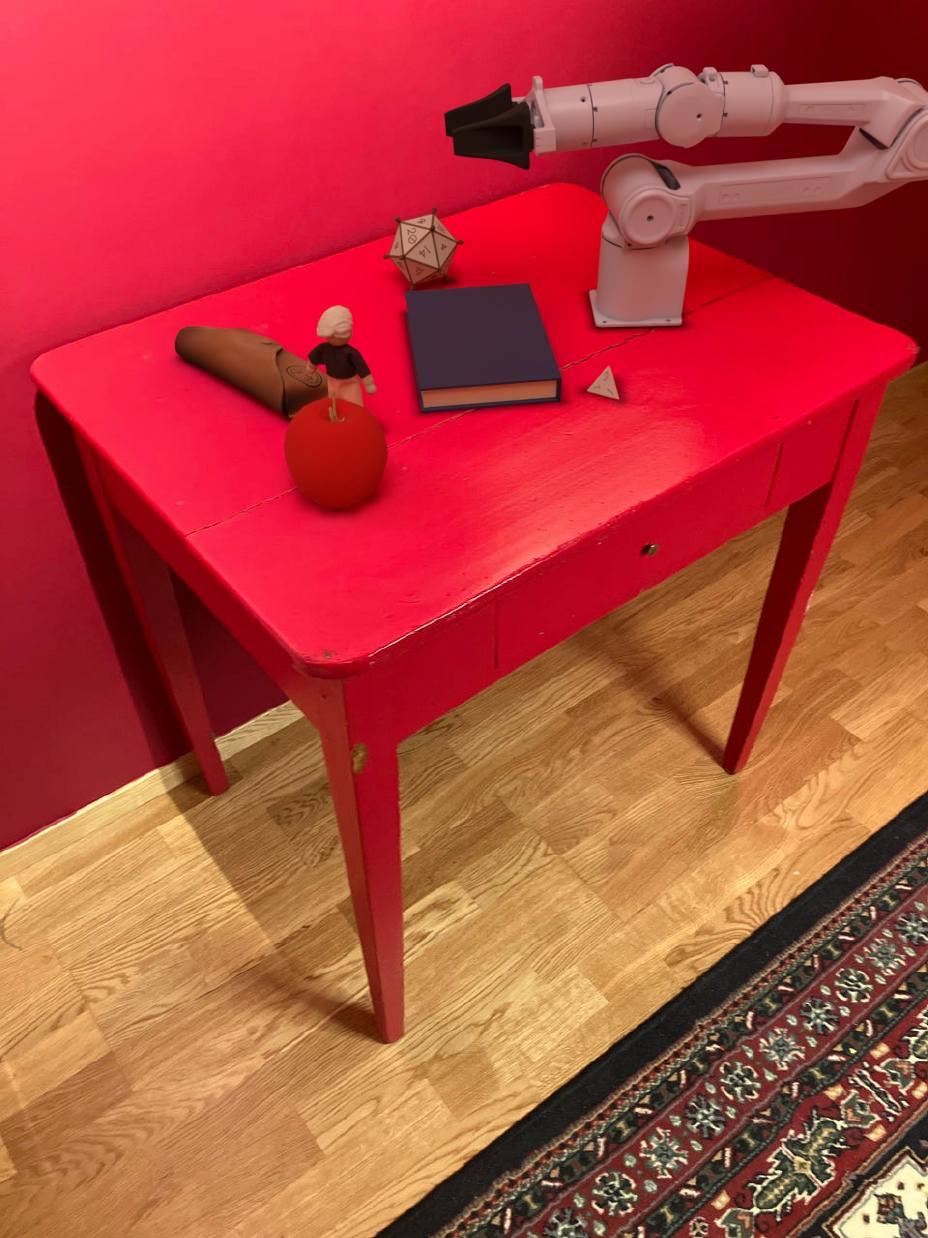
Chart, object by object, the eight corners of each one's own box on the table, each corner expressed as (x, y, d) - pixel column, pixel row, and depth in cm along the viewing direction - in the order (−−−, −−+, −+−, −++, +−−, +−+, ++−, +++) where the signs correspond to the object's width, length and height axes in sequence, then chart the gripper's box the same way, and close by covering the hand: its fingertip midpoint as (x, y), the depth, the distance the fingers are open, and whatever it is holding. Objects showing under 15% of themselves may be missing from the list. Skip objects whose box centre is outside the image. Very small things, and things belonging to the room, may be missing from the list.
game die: (439, 315, 122) (462, 272, 113) (370, 292, 121) (388, 246, 111) (453, 251, 125) (477, 204, 115) (387, 227, 123) (405, 177, 113)
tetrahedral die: (627, 395, 104) (633, 366, 103) (618, 400, 102) (624, 370, 101) (595, 386, 106) (602, 358, 104) (586, 391, 103) (592, 362, 102)
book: (528, 305, 116) (529, 282, 114) (560, 401, 102) (561, 377, 100) (405, 314, 115) (404, 291, 113) (421, 412, 101) (419, 388, 99)
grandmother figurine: (392, 423, 100) (382, 303, 91) (377, 445, 97) (365, 324, 88) (320, 410, 102) (304, 291, 93) (304, 431, 99) (285, 311, 90)
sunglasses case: (348, 383, 104) (316, 346, 98) (308, 439, 104) (273, 404, 98) (237, 326, 113) (202, 289, 107) (199, 377, 112) (162, 342, 107)
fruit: (412, 490, 92) (405, 395, 85) (334, 537, 88) (321, 440, 81) (346, 449, 97) (335, 355, 90) (269, 491, 93) (251, 396, 86)
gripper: (571, 57, 103) (437, 73, 102) (602, 86, 92) (453, 104, 91) (572, 132, 107) (444, 148, 107) (603, 168, 96) (460, 186, 95)
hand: (448, 133), depth 99 cm, fingers open, 7 cm apart
